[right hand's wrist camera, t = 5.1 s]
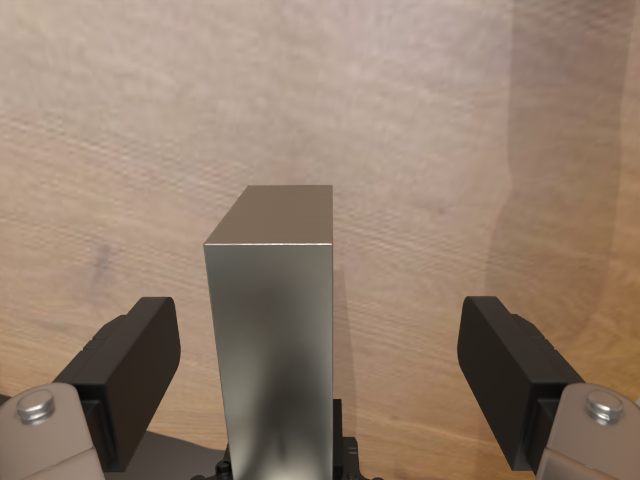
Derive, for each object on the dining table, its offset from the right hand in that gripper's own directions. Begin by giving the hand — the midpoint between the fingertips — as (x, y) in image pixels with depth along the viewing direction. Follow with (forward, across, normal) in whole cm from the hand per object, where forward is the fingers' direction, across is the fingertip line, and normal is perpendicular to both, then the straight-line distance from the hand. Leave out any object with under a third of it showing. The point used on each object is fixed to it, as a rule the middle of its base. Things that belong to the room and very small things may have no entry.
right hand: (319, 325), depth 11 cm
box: (+20, -2, -12) cm, 24 cm away
